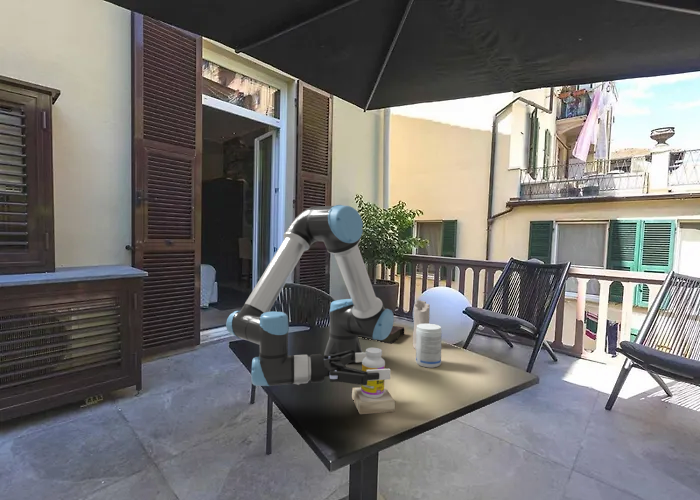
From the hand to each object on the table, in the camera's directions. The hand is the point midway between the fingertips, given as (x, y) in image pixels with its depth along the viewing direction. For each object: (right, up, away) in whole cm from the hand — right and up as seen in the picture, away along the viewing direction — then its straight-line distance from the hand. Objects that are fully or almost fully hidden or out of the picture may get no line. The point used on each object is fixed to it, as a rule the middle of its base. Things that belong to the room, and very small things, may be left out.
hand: (382, 364), depth 101 cm
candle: (+22, -10, +54) cm, 60 cm away
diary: (+2, -9, +71) cm, 71 cm away
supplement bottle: (-3, -9, 0) cm, 9 cm away
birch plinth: (-3, -11, 0) cm, 12 cm away
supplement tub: (+21, -11, +34) cm, 41 cm away
